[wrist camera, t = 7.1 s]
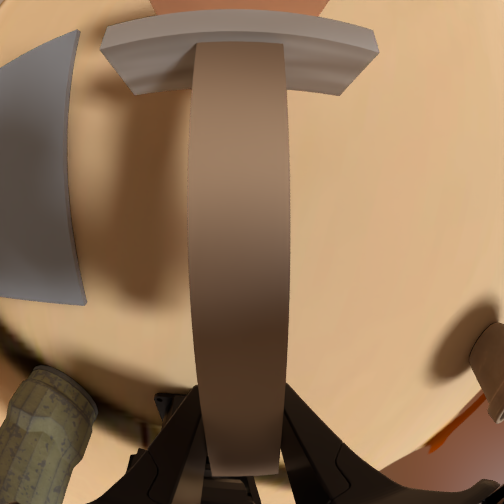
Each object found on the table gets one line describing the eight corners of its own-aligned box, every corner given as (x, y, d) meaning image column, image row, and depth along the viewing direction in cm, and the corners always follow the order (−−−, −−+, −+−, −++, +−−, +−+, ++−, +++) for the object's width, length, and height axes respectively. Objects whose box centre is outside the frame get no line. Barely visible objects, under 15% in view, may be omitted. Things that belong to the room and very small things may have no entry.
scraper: (327, 418, 10) (352, 469, 7) (154, 423, 10) (137, 477, 6) (336, 76, 9) (372, 30, 5) (138, 75, 8) (107, 26, 5)
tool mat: (87, 302, 17) (84, 305, 16) (-4, 293, 16) (-7, 295, 16) (80, 31, 11) (77, 29, 10) (-17, 82, 10) (-20, 81, 9)
